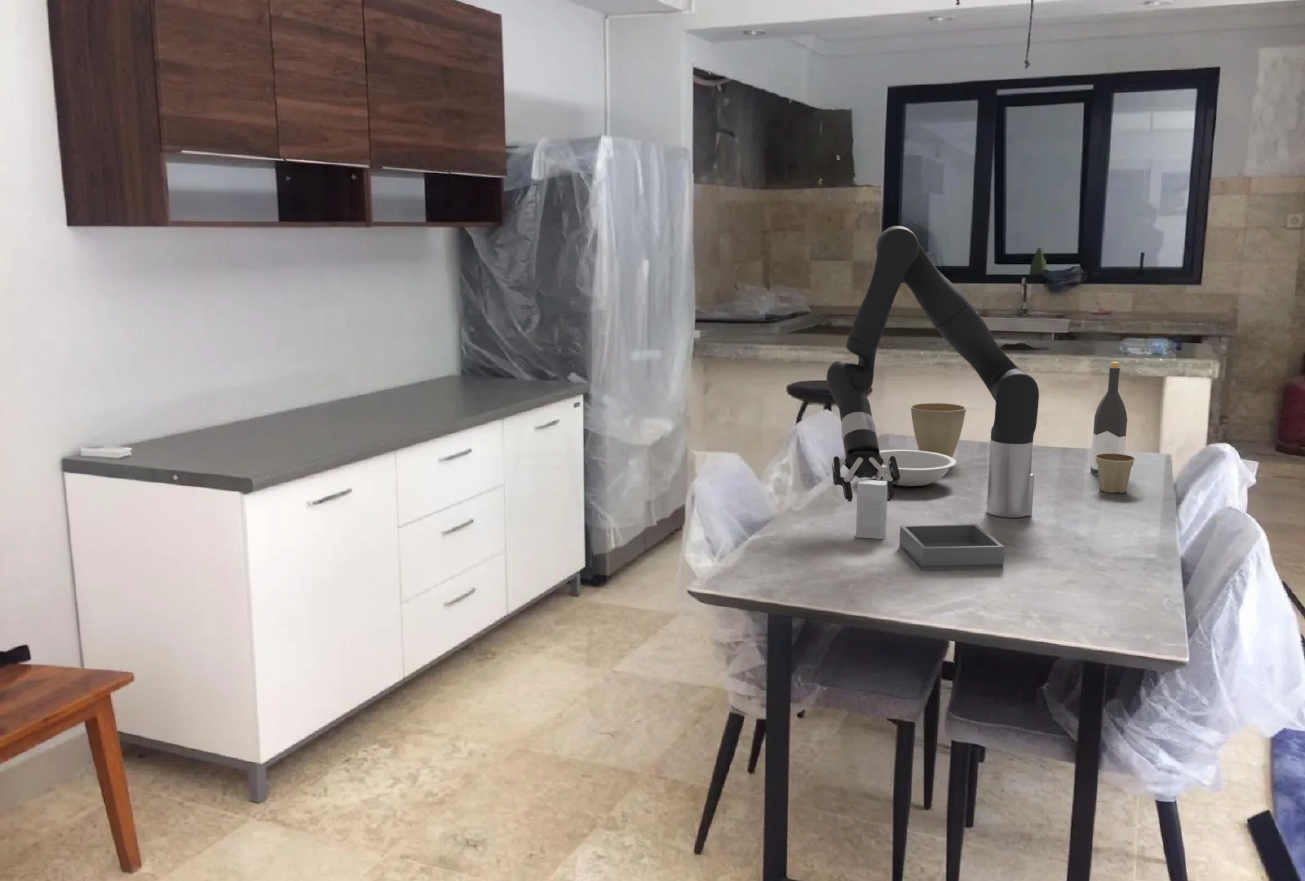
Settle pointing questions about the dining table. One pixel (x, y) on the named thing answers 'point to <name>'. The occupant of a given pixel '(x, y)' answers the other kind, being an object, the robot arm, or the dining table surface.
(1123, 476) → the flower pot
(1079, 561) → the dining table surface
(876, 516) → the skincare box
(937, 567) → the gray square tray
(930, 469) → the soup bowl
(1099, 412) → the wine bottle
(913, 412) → the plant pot
